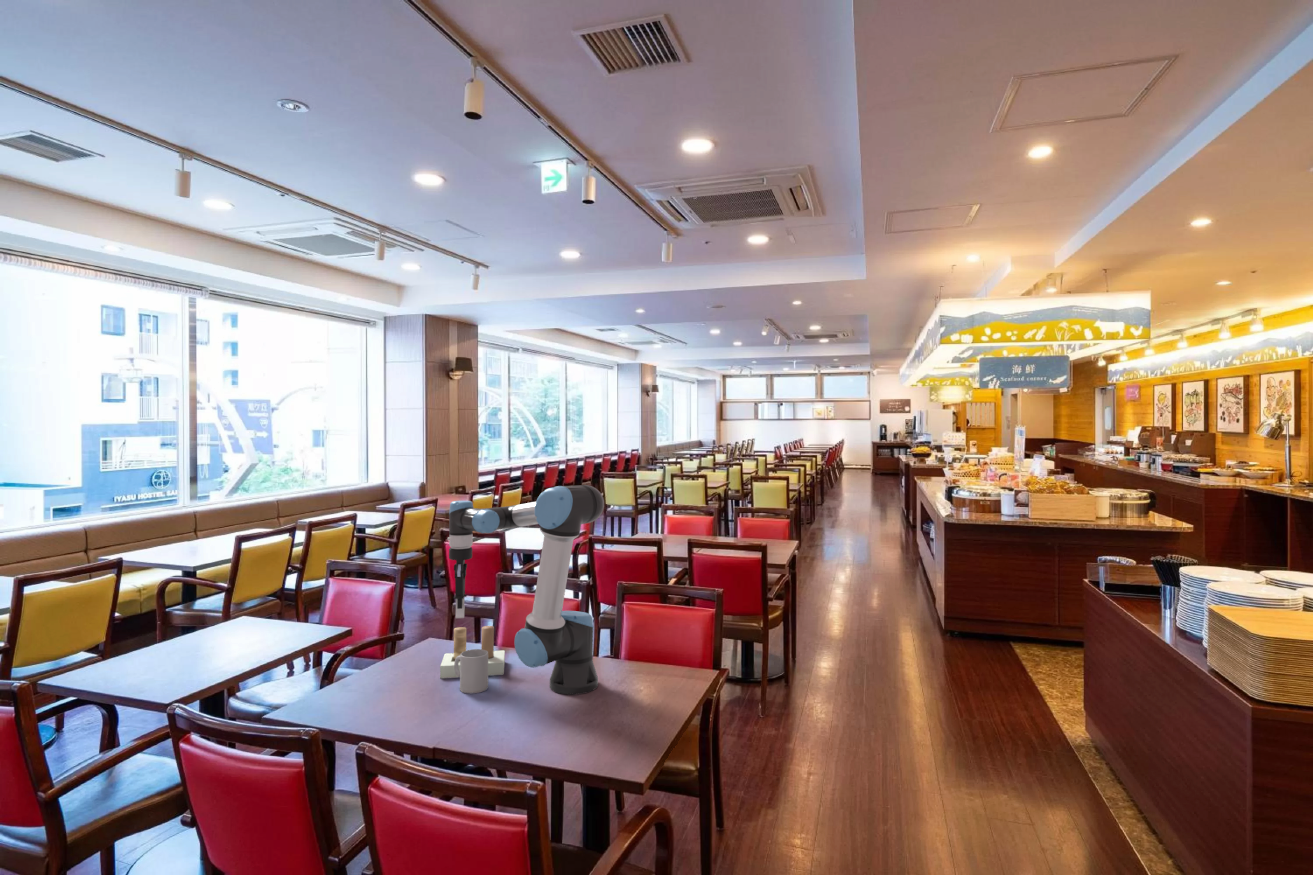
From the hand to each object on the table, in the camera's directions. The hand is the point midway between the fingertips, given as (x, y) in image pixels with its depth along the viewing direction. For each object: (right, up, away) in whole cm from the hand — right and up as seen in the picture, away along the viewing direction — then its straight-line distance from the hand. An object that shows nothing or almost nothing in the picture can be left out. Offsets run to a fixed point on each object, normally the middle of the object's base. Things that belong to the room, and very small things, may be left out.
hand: (459, 617), depth 223 cm
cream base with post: (+4, -18, +1) cm, 18 cm away
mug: (+8, -18, -15) cm, 25 cm away
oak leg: (0, -18, 0) cm, 18 cm away
